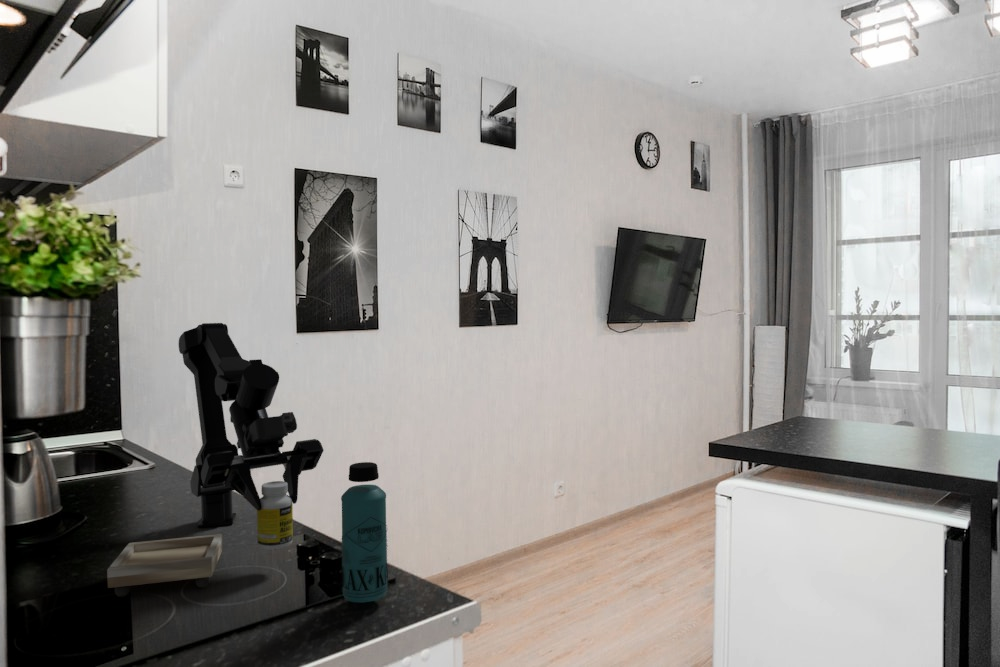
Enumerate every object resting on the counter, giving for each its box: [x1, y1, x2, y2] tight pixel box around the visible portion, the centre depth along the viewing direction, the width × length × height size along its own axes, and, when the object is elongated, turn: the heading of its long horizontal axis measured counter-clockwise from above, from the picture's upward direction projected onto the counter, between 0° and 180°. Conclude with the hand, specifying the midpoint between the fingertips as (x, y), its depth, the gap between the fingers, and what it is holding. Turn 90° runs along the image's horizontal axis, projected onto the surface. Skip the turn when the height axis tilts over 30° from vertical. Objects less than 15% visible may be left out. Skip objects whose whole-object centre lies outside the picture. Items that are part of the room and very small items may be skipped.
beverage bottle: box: [340, 461, 389, 603], centre depth 96 cm, size 6×7×20 cm
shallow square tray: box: [106, 533, 223, 598], centre depth 107 cm, size 12×14×5 cm
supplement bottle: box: [256, 480, 294, 550], centre depth 110 cm, size 5×5×10 cm
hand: (277, 505), depth 108 cm, fingers closed on supplement bottle, 5 cm apart
